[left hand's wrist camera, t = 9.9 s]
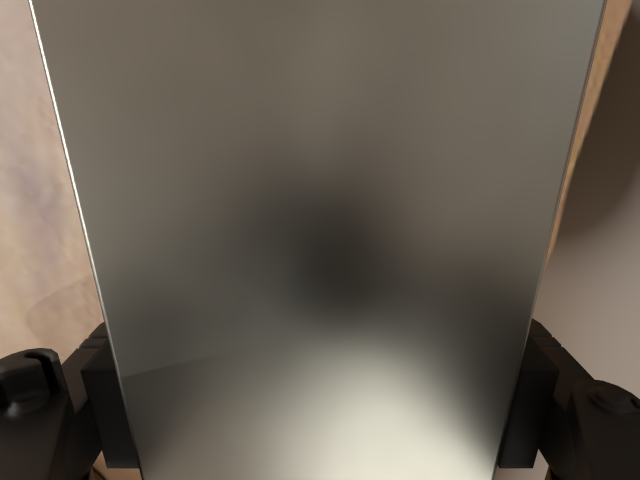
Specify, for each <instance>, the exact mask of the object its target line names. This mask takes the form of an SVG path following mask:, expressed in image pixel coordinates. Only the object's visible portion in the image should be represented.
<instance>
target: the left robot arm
mask: <svg viewBox="0 0 640 480" xmlns="http://www.w3.org/2000/svg"><path fill="white" fill-rule="evenodd" d="M538 449H539V450H540V452H541V453H542V455H543V457H544V458H545V460H546V462H547V463H548V465H549V467H548V470H547V474H546V477H545V480H640V399H638V398H637V397H636V396H635V395H633V394H632V393H630V392H628V391H627V390H625V389H623V388H621V387H619V386H617V385H614V384H611V383H608V382H605V381H600V380H594V379H593V378H592V377H591V376H590V374H589V373H588V372H587V371H586V370H585V369H584V368H583V367H582V366H581V365H580V364H579V363H578V362H577V361H576V360H575V359H574V358H573V357H572V356H571V355H570V354H569V353H568V351H567V350H566V349H565V348H564V347H561V344H560V343H559V342H558V341H557V340H556V339H555V338H554V337H552V335H551V334H550V333H549V332H548V331H547V330H546V329H545V327H544V326H543V325H542V324H541V323H539V322H537V321H536V320H534V319H533V318H532V320H531V324H530V328H529V333H528V337H527V341H526V345H525V349H524V354H523V358H522V362H521V366H520V371H519V375H518V379H517V383H516V387H515V392H514V396H513V400H512V404H511V409H510V413H509V417H508V421H507V425H506V430H505V434H504V438H503V442H502V447H501V451H500V455H499V459H498V463H497V464H498V466H499V468H533V466H534V462H535V459H536V455H537V451H538ZM101 451H103V455H104V459H105V462H106V466H107V468H139V465H138V461H137V457H136V452H135V448H134V444H133V440H132V435H131V431H130V427H129V423H128V419H127V414H126V410H125V406H124V402H123V398H122V393H121V389H120V385H119V381H118V377H117V372H116V368H115V364H114V360H113V356H112V351H111V347H110V343H109V339H108V335H107V330H106V326H105V322H103V323H102V324H100V325H99V326H98V327H97V328H96V329H95V330H94V331H93V332H92V333H91V334H90V335H89V338H88V339H86V340H85V341H84V342H83V343H82V344H81V345H80V346H79V349H76V350H75V351H74V352H73V353H72V354H71V355H70V356H69V357H68V359H67V360H66V361H65V362H64V363H63V364H62V365H61V363H60V360H59V357H58V353H56V352H55V351H53V350H52V349H45V348H36V349H28V350H24V351H20V352H17V353H14V354H11V355H9V356H6V357H4V358H2V359H0V480H103V479H102V478H101V477H100V476H99V475H98V474H97V473H96V472H94V471H93V470H92V465H93V464H94V462H95V460H96V459H97V457H98V455H99V454H100V452H101Z"/></svg>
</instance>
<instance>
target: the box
mask: <svg viewBox="0 0 640 480" xmlns="http://www.w3.org/2000/svg"><path fill="white" fill-rule="evenodd" d="M28 3H29V7H30V11H31V15H32V19H33V24H34V28H35V32H36V36H37V40H38V45H39V49H40V53H41V57H42V61H43V66H44V70H45V74H46V78H47V82H48V87H49V91H50V95H51V99H52V103H53V108H54V112H55V116H56V120H57V124H58V129H59V133H60V137H61V141H62V145H63V150H64V154H65V158H66V162H67V166H68V171H69V175H70V179H71V183H72V187H73V192H74V196H75V200H76V204H77V209H78V213H79V217H80V221H81V225H82V230H83V234H84V238H85V242H86V246H87V251H88V255H89V259H90V263H91V267H92V272H93V276H94V280H95V284H96V288H97V293H98V297H99V301H100V305H101V309H102V314H103V318H104V322H105V326H106V330H107V335H108V339H109V343H110V347H111V351H112V356H113V360H114V364H115V368H116V372H117V377H118V381H119V385H120V389H121V393H122V398H123V402H124V406H125V410H126V414H127V419H128V423H129V427H130V431H131V435H132V440H133V444H134V448H135V452H136V457H137V461H138V465H139V469H140V473H141V478H142V480H494V476H495V472H496V468H497V463H498V459H499V455H500V451H501V447H502V442H503V438H504V434H505V430H506V425H507V421H508V417H509V413H510V409H511V404H512V400H513V396H514V392H515V387H516V383H517V379H518V375H519V371H520V366H521V362H522V358H523V354H524V349H525V345H526V341H527V337H528V333H529V328H530V324H531V320H532V316H533V312H534V307H535V303H536V299H537V294H538V290H539V286H540V282H541V278H542V274H543V269H544V265H545V261H546V257H547V252H548V248H549V244H550V240H551V236H552V231H553V227H554V223H555V219H556V214H557V210H558V206H559V202H560V198H561V193H562V189H563V185H564V181H565V176H566V172H567V168H568V164H569V160H570V155H571V151H572V147H573V143H574V138H575V134H576V130H577V126H578V122H579V117H580V113H581V109H582V105H583V100H584V96H585V92H586V88H587V84H588V79H589V75H590V71H591V67H592V63H593V58H594V54H595V50H596V46H597V41H598V37H599V33H600V29H601V25H602V20H603V16H604V12H605V8H606V3H607V0H28Z"/></svg>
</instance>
